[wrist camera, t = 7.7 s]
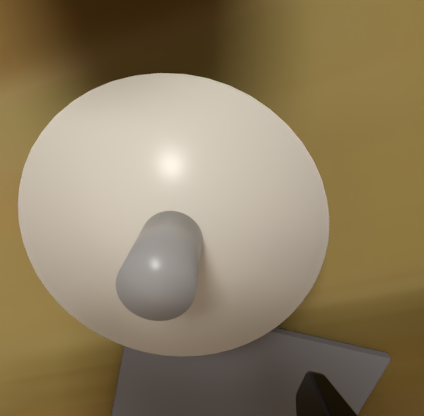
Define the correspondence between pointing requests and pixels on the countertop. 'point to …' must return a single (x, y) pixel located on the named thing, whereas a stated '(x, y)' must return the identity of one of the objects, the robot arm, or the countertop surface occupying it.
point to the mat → (244, 377)
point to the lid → (173, 214)
